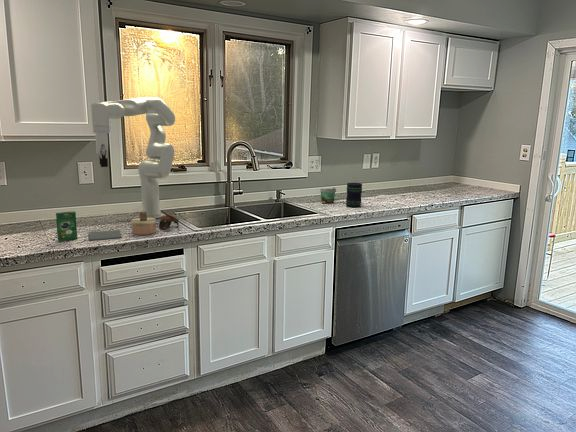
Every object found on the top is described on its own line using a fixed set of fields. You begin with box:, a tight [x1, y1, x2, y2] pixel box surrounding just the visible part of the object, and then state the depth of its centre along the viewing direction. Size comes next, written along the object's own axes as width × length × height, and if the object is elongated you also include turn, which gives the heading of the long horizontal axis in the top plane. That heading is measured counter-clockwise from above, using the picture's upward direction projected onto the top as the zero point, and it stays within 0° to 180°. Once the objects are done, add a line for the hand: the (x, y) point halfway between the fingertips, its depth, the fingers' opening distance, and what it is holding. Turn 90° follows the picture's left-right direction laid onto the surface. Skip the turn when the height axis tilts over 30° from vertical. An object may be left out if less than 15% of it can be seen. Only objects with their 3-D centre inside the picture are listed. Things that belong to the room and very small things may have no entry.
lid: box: [130, 211, 157, 226], centre depth 224 cm, size 12×12×5 cm
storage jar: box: [345, 182, 363, 209], centre depth 297 cm, size 10×10×15 cm
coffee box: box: [55, 210, 78, 243], centre depth 209 cm, size 8×3×13 cm, turn 135°
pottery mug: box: [158, 213, 180, 230], centre depth 234 cm, size 12×10×8 cm
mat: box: [88, 229, 123, 242], centre depth 219 cm, size 14×14×1 cm
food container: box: [319, 187, 337, 205], centre depth 306 cm, size 12×6×10 cm, turn 127°
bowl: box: [131, 222, 157, 236], centre depth 225 cm, size 11×11×5 cm
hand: (103, 165), depth 221 cm, fingers open, 9 cm apart
